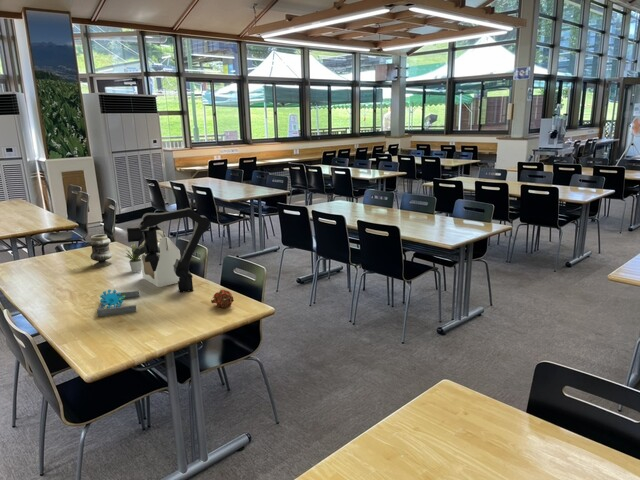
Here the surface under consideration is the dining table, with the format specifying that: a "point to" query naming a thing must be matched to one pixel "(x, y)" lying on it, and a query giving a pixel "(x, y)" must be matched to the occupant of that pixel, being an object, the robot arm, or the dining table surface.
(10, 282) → the dining table surface
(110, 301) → the gear
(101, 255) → the apothecary jar
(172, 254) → the gable box
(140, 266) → the house plant
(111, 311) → the gear seat
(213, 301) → the dragon fruit
